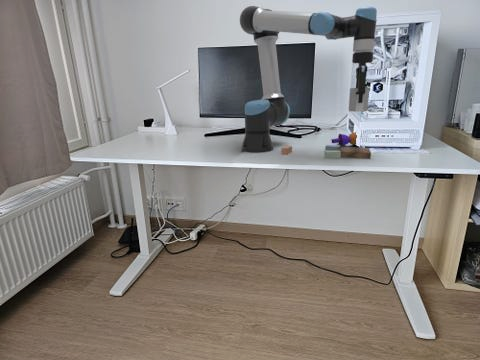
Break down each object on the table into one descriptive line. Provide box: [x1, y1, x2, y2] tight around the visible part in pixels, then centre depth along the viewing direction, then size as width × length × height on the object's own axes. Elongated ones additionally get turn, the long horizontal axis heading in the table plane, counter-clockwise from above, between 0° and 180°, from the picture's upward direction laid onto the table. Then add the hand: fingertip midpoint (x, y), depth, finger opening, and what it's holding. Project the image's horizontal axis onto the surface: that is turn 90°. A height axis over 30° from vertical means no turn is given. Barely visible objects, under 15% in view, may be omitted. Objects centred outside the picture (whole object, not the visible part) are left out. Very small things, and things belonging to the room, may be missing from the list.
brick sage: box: [324, 150, 341, 160], centre depth 131 cm, size 6×3×3 cm, turn 84°
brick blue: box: [324, 144, 341, 152], centre depth 142 cm, size 6×3×3 cm, turn 63°
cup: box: [348, 87, 370, 113], centre depth 127 cm, size 7×10×9 cm
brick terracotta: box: [280, 145, 293, 155], centre depth 142 cm, size 6×3×3 cm, turn 153°
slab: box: [340, 146, 372, 160], centre depth 134 cm, size 12×10×2 cm
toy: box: [331, 131, 357, 147], centre depth 153 cm, size 11×8×15 cm
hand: (358, 110), depth 129 cm, fingers closed on cup, 10 cm apart
